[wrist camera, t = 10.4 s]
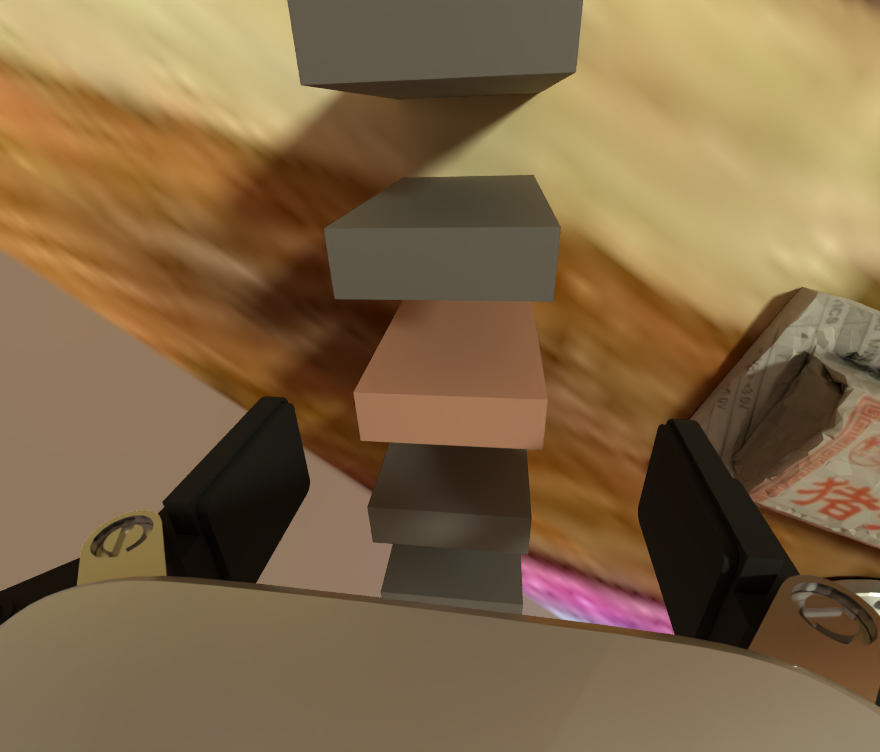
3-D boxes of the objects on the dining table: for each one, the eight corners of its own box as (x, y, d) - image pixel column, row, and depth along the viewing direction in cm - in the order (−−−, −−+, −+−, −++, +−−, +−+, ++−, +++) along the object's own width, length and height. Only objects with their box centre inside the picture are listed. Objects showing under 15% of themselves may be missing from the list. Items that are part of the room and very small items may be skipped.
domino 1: (539, 93, 15) (576, 71, 8) (397, 99, 16) (300, 84, 8) (542, 35, 15) (588, -53, 7) (393, 44, 15) (283, -29, 8)
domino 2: (530, 219, 18) (553, 301, 10) (405, 220, 18) (334, 299, 10) (533, 175, 17) (560, 227, 9) (402, 177, 17) (323, 228, 10)
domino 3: (526, 318, 20) (542, 449, 12) (414, 316, 20) (360, 440, 13) (529, 283, 19) (547, 400, 11) (412, 282, 19) (353, 392, 12)
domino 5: (514, 464, 24) (520, 632, 16) (421, 459, 24) (384, 618, 17) (515, 441, 23) (522, 604, 15) (420, 436, 24) (380, 591, 16)
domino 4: (518, 398, 22) (527, 554, 14) (417, 394, 22) (372, 542, 15) (520, 370, 21) (531, 518, 13) (415, 366, 22) (367, 506, 14)
